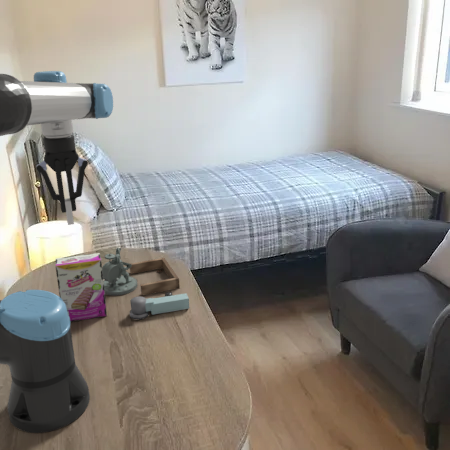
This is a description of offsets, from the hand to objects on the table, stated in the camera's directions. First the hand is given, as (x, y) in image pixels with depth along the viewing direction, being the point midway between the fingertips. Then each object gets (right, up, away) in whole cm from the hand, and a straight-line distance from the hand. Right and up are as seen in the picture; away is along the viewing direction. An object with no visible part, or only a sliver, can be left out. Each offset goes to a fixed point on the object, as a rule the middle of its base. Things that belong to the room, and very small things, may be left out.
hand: (70, 222), depth 135 cm
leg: (+24, -23, -2) cm, 34 cm away
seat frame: (+19, -17, +14) cm, 30 cm away
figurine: (+11, -19, +11) cm, 24 cm away
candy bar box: (+5, -25, -4) cm, 25 cm away
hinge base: (+22, -23, -2) cm, 32 cm away
